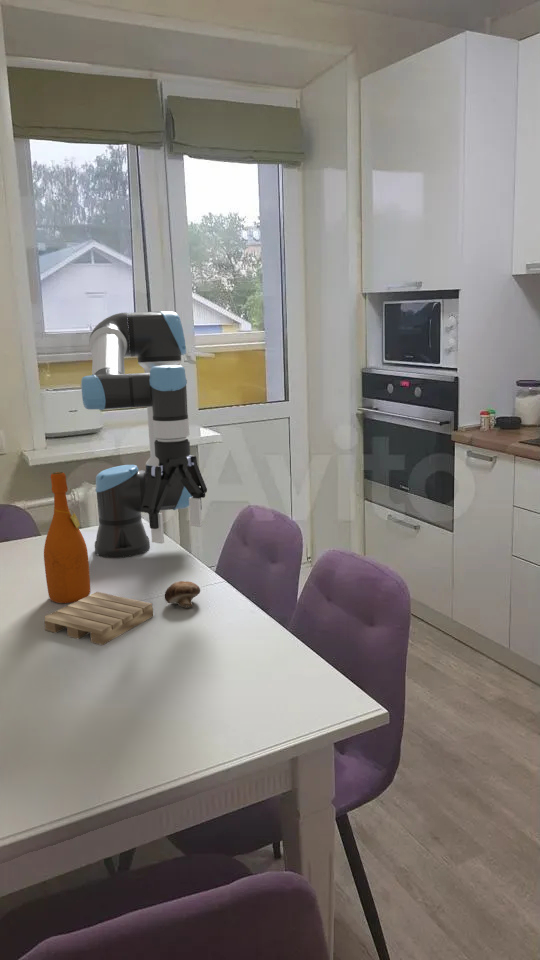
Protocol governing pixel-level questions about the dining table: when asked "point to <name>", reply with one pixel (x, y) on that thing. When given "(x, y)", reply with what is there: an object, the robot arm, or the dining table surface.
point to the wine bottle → (65, 550)
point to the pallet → (99, 617)
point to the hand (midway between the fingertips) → (177, 534)
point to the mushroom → (182, 593)
